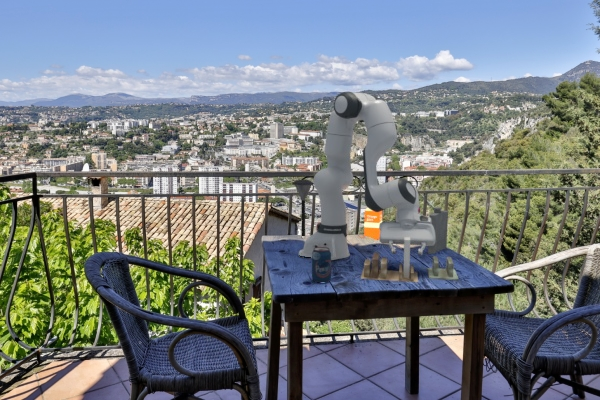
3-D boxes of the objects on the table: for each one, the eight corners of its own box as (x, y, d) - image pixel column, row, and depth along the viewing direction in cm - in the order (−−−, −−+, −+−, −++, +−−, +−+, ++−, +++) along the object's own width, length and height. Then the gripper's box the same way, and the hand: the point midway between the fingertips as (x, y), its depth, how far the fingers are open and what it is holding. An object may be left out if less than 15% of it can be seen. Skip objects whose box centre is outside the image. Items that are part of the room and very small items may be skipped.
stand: (429, 282, 163) (429, 263, 162) (427, 272, 175) (427, 255, 174) (458, 284, 161) (459, 265, 160) (454, 274, 173) (455, 256, 172)
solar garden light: (313, 241, 228) (313, 181, 224) (289, 240, 230) (289, 181, 226) (316, 236, 240) (316, 179, 236) (293, 235, 242) (293, 179, 238)
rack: (360, 282, 164) (360, 259, 163) (363, 272, 175) (363, 251, 174) (418, 286, 159) (418, 262, 158) (416, 276, 171) (417, 253, 170)
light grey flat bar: (403, 278, 164) (404, 239, 162) (403, 274, 169) (404, 236, 167) (409, 278, 163) (410, 240, 161) (408, 274, 168) (410, 237, 166)
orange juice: (364, 238, 234) (364, 200, 232) (367, 235, 243) (368, 197, 240) (379, 239, 232) (379, 200, 229) (382, 236, 240) (383, 198, 237)
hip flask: (433, 254, 202) (435, 210, 199) (424, 253, 205) (426, 209, 202) (447, 247, 214) (449, 205, 212) (439, 246, 217) (440, 204, 214)
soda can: (317, 284, 161) (317, 251, 160) (308, 279, 168) (308, 247, 166) (334, 282, 164) (334, 249, 162) (325, 277, 170) (325, 245, 169)
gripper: (379, 216, 173) (377, 247, 165) (435, 218, 169) (436, 250, 161) (379, 225, 178) (377, 256, 170) (434, 227, 174) (435, 259, 165)
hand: (406, 253), depth 165 cm, fingers open, 8 cm apart
